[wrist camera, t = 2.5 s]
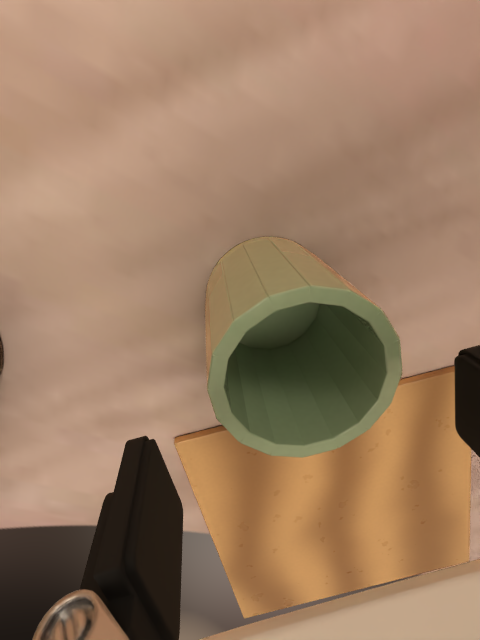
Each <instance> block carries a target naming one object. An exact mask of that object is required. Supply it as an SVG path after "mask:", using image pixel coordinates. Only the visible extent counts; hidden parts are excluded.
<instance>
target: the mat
mask: <svg viewBox="0 0 480 640" xmlns="http://www.w3.org/2000/svg"><path fill="white" fill-rule="evenodd" d="M174 444H175V447H176V449H177V452H178V454H179V457H180V459H181V462H182V464H183V467H184V469H185V472H186V474H187V477H188V479H189V482H190V484H191V487H192V489H193V492H194V494H195V497H196V499H197V502H198V504H199V507H200V509H201V512H202V514H203V517H204V519H205V522H206V524H207V527H208V529H209V532H210V534H211V537H212V539H213V542H214V544H215V547H216V549H217V552H218V554H219V557H220V559H221V562H222V564H223V567H224V569H225V572H226V574H227V577H228V579H229V582H230V584H231V587H232V589H233V591H234V594H235V597H236V599H237V602H238V604H239V607H240V609H241V612H242V614H243V617H244V618H248V617H252V616H256V615H259V614H264V613H267V612H271V611H276V610H280V609H283V608H287V607H291V606H295V605H299V604H303V603H307V602H311V601H315V600H319V599H323V598H326V597H330V596H335V595H338V594H342V593H346V592H350V591H354V590H358V589H362V588H366V587H370V586H373V585H378V584H382V583H386V582H390V581H394V580H397V579H401V578H405V577H409V576H413V575H417V574H421V573H425V572H429V571H433V570H437V569H441V568H445V567H449V566H453V565H457V564H460V563H464V562H468V561H469V542H470V487H471V448H470V447H469V446H468V445H467V444H466V443H465V442H464V441H463V440H462V439H461V438H460V436H459V435H458V433H457V431H456V428H455V366H452V367H448V368H444V369H440V370H436V371H432V372H428V373H424V374H420V375H417V376H413V377H409V378H405V379H401V380H400V381H399V384H398V386H397V389H396V392H395V394H394V397H393V400H392V403H391V404H390V406H389V407H388V408H387V409H386V410H385V412H384V413H383V414H382V415H381V416H380V417H379V419H378V420H377V421H376V422H375V423H374V424H373V426H372V427H371V428H370V429H369V430H367V431H366V432H365V433H363V434H361V435H360V436H358V437H356V438H355V439H353V440H351V441H350V442H348V443H347V444H345V445H343V446H342V447H340V448H337V449H335V450H331V451H327V452H323V453H319V454H315V455H312V456H308V457H303V458H301V457H283V456H270V455H267V454H265V453H263V452H260V451H258V450H256V449H253V448H251V447H248V446H246V445H244V444H241V443H240V442H238V441H237V440H236V439H235V437H234V436H233V435H232V434H231V433H230V432H229V431H228V430H227V429H226V428H225V427H224V426H219V427H215V428H211V429H207V430H203V431H199V432H195V433H191V434H188V435H184V436H180V437H176V438H175V441H174Z"/></svg>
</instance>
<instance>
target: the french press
mask: <svg viewBox="0 0 480 640" xmlns="http://www.w3.org/2000/svg"><path fill="white" fill-rule="evenodd" d="M2 365H3V349H2V344H1V340H0V373H1V369H2Z"/></svg>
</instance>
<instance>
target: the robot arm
mask: <svg viewBox="0 0 480 640" xmlns="http://www.w3.org/2000/svg"><path fill="white" fill-rule="evenodd" d="M454 364H455V428H456V431H457V433H458V435H459V436H460V438H461V439H462V440H463V441H464V442H465V443H466V444H467V445H468V446H469V447H470V448H471V449H472V450H473V451H474V452H475V453H476V454H477V455H478V456H479V457H480V345H478V346H475V347H471V348H467V349H464V350H461V351H460V352H459V355H458V356H457V357H456V358H455V361H454ZM182 534H183V508H182V503H181V500H180V498H179V496H178V493H177V491H176V488H175V486H174V484H173V481H172V479H171V477H170V474H169V472H168V469H167V467H166V465H165V462H164V460H163V458H162V455H161V453H160V450H159V448H158V446H157V443H156V441H155V440H154V439H151V440H149V439H148V437H147V436H143V437H140V438H136V439H132V440H129V441H127V442H126V445H125V449H124V453H123V457H122V461H121V465H120V469H119V473H118V477H117V481H116V485H115V489H114V492H112V493H109V494H107V495H106V497H105V499H104V502H103V506H102V509H101V513H100V517H99V520H98V524H97V528H96V532H95V535H94V539H93V543H92V546H91V550H90V554H89V557H88V561H87V565H86V568H85V572H84V576H83V580H82V583H81V587H80V590H78V591H74V592H72V593H70V594H68V595H66V596H64V597H63V598H62V599H60V600H59V601H58V602H57V603H55V604H54V605H53V606H52V608H51V609H50V610H49V611H48V612H47V613H46V614H45V616H44V617H43V619H42V620H41V622H40V624H39V625H38V627H37V629H36V632H35V634H34V637H33V640H179V630H180V597H181V565H182ZM199 640H480V559H478V560H474V561H470V562H467V563H463V564H459V565H456V566H452V567H449V568H445V569H441V570H438V571H434V572H431V573H427V574H424V575H420V576H416V577H413V578H409V579H406V580H402V581H398V582H395V583H392V584H388V585H384V586H381V587H377V588H374V589H370V590H367V591H363V592H359V593H356V594H352V595H349V596H345V597H342V598H338V599H335V600H331V601H328V602H324V603H321V604H317V605H314V606H311V607H307V608H303V609H300V610H296V611H293V612H289V613H286V614H283V615H279V616H275V617H272V618H268V619H265V620H261V621H258V622H255V623H251V624H248V625H245V626H242V627H238V628H235V629H232V630H228V631H225V632H222V633H219V634H215V635H212V636H209V637H206V638H203V639H199Z"/></svg>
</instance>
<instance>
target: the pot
mask: <svg viewBox="0 0 480 640" xmlns="http://www.w3.org/2000/svg"><path fill="white" fill-rule="evenodd" d="M205 329H206V369H207V391H208V394H209V397H210V400H211V403H212V406H213V409H214V412H215V415H216V418H217V419H218V421H219V422H220V423H221V424H222V425H223V426H224V427H225V428H226V429H227V430H228V431H229V432H230V433H231V434H232V435H233V436H234V437H235V439H236V440H237V441H238V442H240V443H241V444H244V445H246V446H248V447H251V448H253V449H256V450H258V451H260V452H263V453H265V454H267V455H270V456H283V457H301V458H303V457H308V456H312V455H315V454H319V453H323V452H327V451H331V450H335V449H337V448H340V447H342V446H343V445H345V444H347V443H348V442H350V441H351V440H353V439H355V438H356V437H358V436H360V435H361V434H363V433H365V432H366V431H367V430H369V429H370V428H371V427H372V426H373V424H374V423H375V422H376V421H377V420H378V419H379V417H380V416H381V415H382V414H383V413H384V412H385V410H386V409H387V408H388V407H389V406H390V404H391V403H392V400H393V397H394V394H395V392H396V389H397V386H398V384H399V381H400V378H401V375H402V361H401V347H400V339H399V336H398V334H397V333H396V331H395V330H394V328H393V326H392V325H391V323H390V321H389V320H388V318H387V316H386V315H385V313H384V311H383V310H382V309H381V308H380V307H378V306H377V305H376V304H375V303H374V302H372V301H371V300H370V299H369V298H367V297H366V296H365V295H364V294H362V293H361V292H360V291H359V290H358V289H356V288H355V287H354V286H353V285H351V284H350V283H349V282H348V281H347V280H345V279H344V278H343V277H342V276H340V275H339V274H338V273H337V272H335V271H334V270H333V269H332V268H331V267H329V266H328V265H327V264H326V263H324V262H323V261H322V260H321V259H320V258H318V257H317V256H316V255H315V254H313V253H312V252H310V251H308V250H307V249H306V248H304V247H303V246H301V245H300V244H298V243H296V242H294V241H291V240H289V239H285V238H281V237H271V236H269V237H259V238H254V239H251V240H247V241H245V242H243V243H241V244H239V245H237V246H235V247H234V248H232V249H231V250H230V251H228V252H227V253H226V254H225V255H224V256H223V257H222V258H221V259H220V260H219V261H218V263H217V264H216V266H215V267H214V269H213V271H212V273H211V275H210V278H209V280H208V284H207V289H206V301H205Z"/></svg>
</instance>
